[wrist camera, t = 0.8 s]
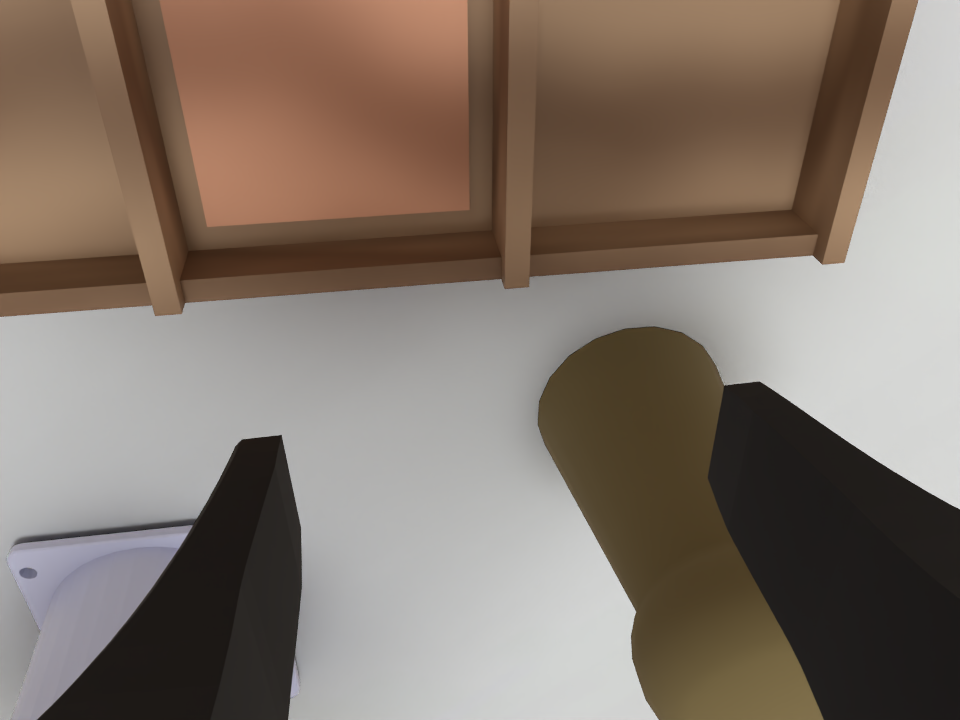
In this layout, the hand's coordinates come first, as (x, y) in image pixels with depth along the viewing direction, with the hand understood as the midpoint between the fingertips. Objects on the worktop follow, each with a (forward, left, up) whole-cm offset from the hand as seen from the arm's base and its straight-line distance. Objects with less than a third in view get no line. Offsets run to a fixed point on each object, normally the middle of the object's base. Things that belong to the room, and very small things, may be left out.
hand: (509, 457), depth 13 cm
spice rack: (+3, +3, -10) cm, 11 cm away
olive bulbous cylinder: (-8, -6, -10) cm, 14 cm away
